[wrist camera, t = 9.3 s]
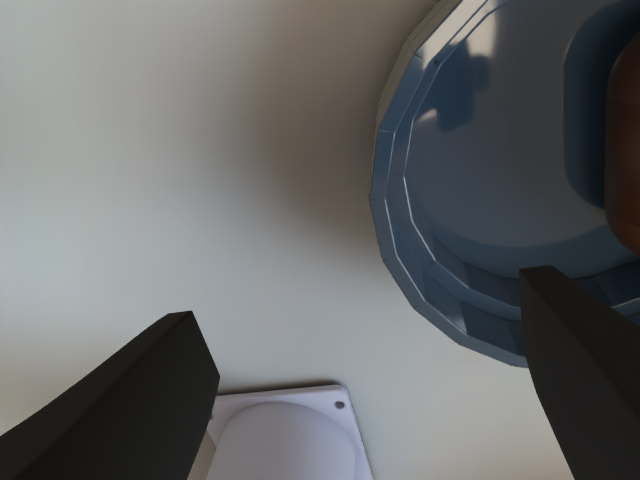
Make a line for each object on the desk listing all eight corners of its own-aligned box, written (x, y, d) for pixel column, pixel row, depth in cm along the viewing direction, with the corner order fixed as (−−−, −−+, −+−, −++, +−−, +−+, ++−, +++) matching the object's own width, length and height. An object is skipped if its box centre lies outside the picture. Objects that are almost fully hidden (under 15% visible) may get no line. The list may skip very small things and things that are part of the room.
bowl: (748, 270, 18) (849, 350, 14) (405, 313, 21) (410, 390, 17) (824, -149, 12) (1030, -211, 8) (338, -12, 15) (322, -9, 11)
